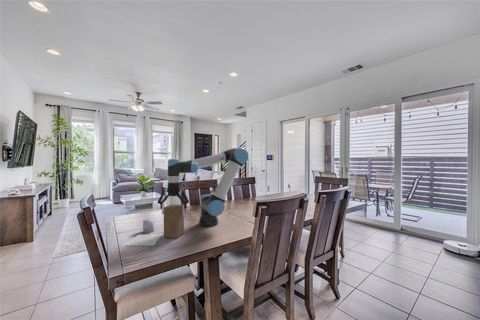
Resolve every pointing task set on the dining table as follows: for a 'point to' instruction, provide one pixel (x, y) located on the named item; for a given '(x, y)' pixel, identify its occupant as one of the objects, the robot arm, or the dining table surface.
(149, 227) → the pale grey egg
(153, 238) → the shallow square tray
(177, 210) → the wooden block
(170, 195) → the robot arm
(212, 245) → the dining table surface
